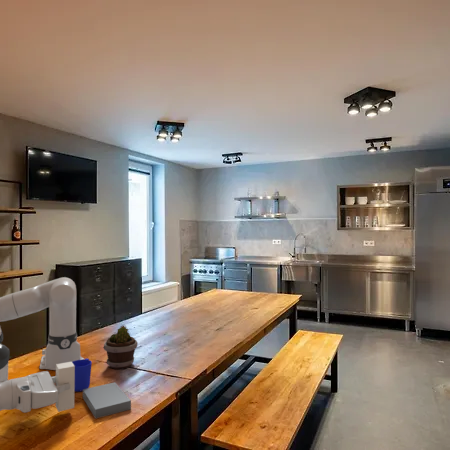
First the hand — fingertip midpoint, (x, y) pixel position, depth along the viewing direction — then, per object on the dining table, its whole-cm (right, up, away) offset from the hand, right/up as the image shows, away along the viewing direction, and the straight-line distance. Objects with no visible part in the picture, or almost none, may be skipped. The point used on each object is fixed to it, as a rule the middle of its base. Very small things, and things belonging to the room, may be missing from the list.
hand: (67, 382), depth 127 cm
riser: (+11, -11, +7) cm, 17 cm away
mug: (-3, -11, +21) cm, 24 cm away
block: (-1, -8, 0) cm, 8 cm away
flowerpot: (+6, -11, +44) cm, 45 cm away
